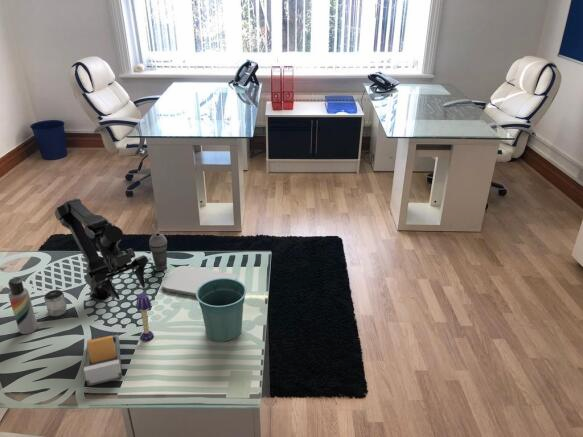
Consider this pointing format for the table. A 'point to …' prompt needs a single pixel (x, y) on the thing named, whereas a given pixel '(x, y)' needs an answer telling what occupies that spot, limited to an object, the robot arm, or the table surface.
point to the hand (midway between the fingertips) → (131, 293)
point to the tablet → (191, 279)
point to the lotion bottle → (22, 306)
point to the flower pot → (222, 307)
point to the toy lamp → (144, 315)
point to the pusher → (101, 349)
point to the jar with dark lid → (55, 302)
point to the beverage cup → (159, 250)
